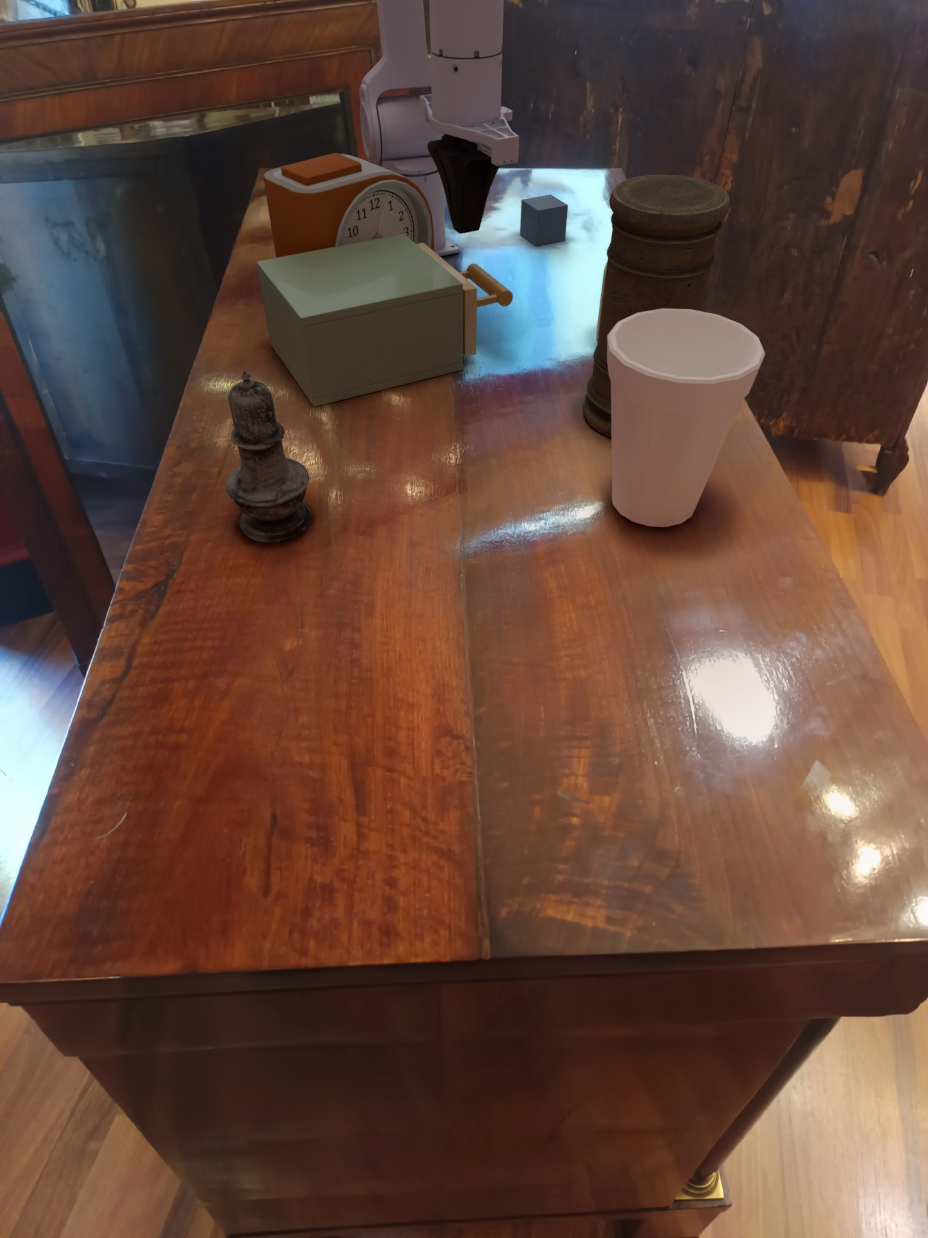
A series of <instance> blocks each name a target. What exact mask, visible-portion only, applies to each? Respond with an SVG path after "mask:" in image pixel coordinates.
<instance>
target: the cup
mask: <svg viewBox="0 0 928 1238" xmlns="http://www.w3.org/2000/svg"><path fill="white" fill-rule="evenodd" d="M765 356H766V352H765V350H764V347H763V345H762V343H761V340H760V338H759V337H758V336H757V334H755V333H753V332H752V331H751V330H750V329H749V328H748V327H746V326H745V325H743V324H742V323H739V322H737V321H734V320H732V319H730V318H727V317H725V316H722V315H720V314H717V313H711V312H706V311H697V310H692V309H657V310H651V311H645V312H639V313H636V314H634V315H632V316H629V317H627V318H625V319H623V320H621V321H619V322H618V323H617V324H616V325H615V326H614V328H613V329H612V330H611V332H610V333H609V334H608V336H607V364H608V373H609V377H610V380H611V436H612V438H611V501H612V506H613V507H614V508H615V509H616V510H617V512H618V513H619V514H620V515H621V516H623V517H625V518H626V519H628V520H629V521H630V522H634V523H636V524H639V525H644V526H648V527H659V528H668V527H671V526H677V525H680V524H683V523H684V522H685V521H687V520H689V519H690V518H692V517H693V514H694V512H695V510H696V508H697V506H698V504H699V502H700V499H701V497H702V495H703V492H704V490H705V488H706V485H707V483H708V481H709V479H710V477H711V475H712V472H713V470H714V467H715V465H716V463H717V461H718V459H719V456H720V454H721V452H722V449H723V447H724V445H725V442H726V440H727V438H728V435H730V431H731V429H732V427H733V425H734V422H735V420H736V418H737V415H738V413H739V411H740V409H741V406H742V404H743V402H744V400H745V398H747V396H748V395H749V394H750V391H751V389H752V387H753V385H754V382H755V380H756V377H757V376H758V373H759V370H760V368H761V366H762V363H763V361H764V358H765Z"/></svg>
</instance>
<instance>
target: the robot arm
mask: <svg viewBox="0 0 928 1238" xmlns="http://www.w3.org/2000/svg"><path fill="white" fill-rule="evenodd" d="M428 1H429V2H428V5H429V42H430V43H429V44H430V45H429V47H430V56H429V55H428V48H427V47H428V46H427V45H428V44H427V35H426V34H427V32H426V21H425V7H424V0H376V8H377V18H378V27H379V37H380V47H381V58H380V59H379V60H378V61H377V63H376V64H375V65H374V66H373V67H372V68H371V69H370V70H369V71H368V72H367V73H366V74H365V75H364V77H363V78H362V80H361V82H360V87H359V89H358V90H359V91H358V92H359V93H358V94H359V103H360V108H359V120H360V121H359V122H360V123H359V124H360V133H361V139H362V141H361V142H362V145H363V151H364V154H365V157H366V159H367V160H368V162H370V163H373V164H375V165H378V166H380V167H383V168H385V169H388V170H390V171H393V172H395V173H398V174H400V175H403V176H405V177H407V178H408V179H410V180H411V181H412V182H414V183H415V184H416V185H417V186H418V187H419V189H420V190H421V191H422V193H423V194H424V196H425V197H426V199H427V202H428V204H429V207H430V210H431V213H432V220H433V228H434V252H435V253H436V254H438V255H439V256H440V257H443V256H449V255H453V254H457V253H459V252H460V247H458V245H456V244H455V243H454V242H452V241H451V240H450V239H449V238H447V237H446V204H447V208H448V214H449V217H450V221H451V226H452V229H453V230H454V231H456V232H457V233H458V234H460V235H462V234H467V233H471V232H472V233H473V232H478V231H480V228H481V226H482V222H483V217H484V213H485V210H486V205H487V200H488V198H489V194H490V191H491V187H492V184H493V182H494V180H495V178H496V176H497V173H498V171H499V169H500V168H501V166H506V165H512V164H518V163H519V154H520V153H519V151H520V136H519V134H516V133H515V132H514V131H513V130H512V128H511V127H510V125H509V123H508V122H510V121H512V120H513V110H512V109H510V108H508V107H506V106H502V82H503V80H502V78H503V48H504V47H503V43H504V42H503V41H504V40H503V38H504V4H505V3H504V2H505V0H428ZM417 89H419V90H420V89H423V90H428V91H430V92H429V93H427V92H426V93H414V94H413V93H412V94H401V95H389V96H388V95H387V96H381V95H382V93H384V92H389V91H390V92H393V91H403V90H404V91H406V90H417ZM445 200H446V202H445Z"/></svg>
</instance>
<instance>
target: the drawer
mask: <svg viewBox="0 0 928 1238" xmlns="http://www.w3.org/2000/svg"><path fill="white" fill-rule="evenodd" d="M417 245H418V246H419V247H420V248H421V249H423V250H424V251H425V252H426V253H427V254H428V255H430V256H431V257H432V258H433V259H434V260H435V261H437V262H438V263H439V264H440V265H441V266H442V267H444V268H445V269H446V270H447V271H448V272H449V273H451V274H452V275H453V276H454V277H455V278H456V279H458V280H459V281H460V282H461V283H462V284H463V292H462V293H463V357H469V356H474V355H477V329H478V328H477V327H478V322H477V321H478V318H477V317H478V315H477V314H478V307H484V306H488V305H493V304H499V305H500V306H501V307H508V306H509V305H511V303H512V302H513V299H514V295H513V294H514V293H513V292H512V291H511V290H509V289H508V288H507V287H506V286H505V285H503V284H502V283H501V282H500V281H498V280H497V279H496V278H495V277H493V276H492V275H491V274H490V273H489V272H488V271H486V270H485V269H484V268H482V267H481V266H480V265H478V264H477V263H471V264H469V265H468V266H467V267H466V270H461V271H458V270H456V269H455V268H454V267H453V266H452V265H451V264H450V263H448V262H447V261H446V260H445V259H444V258H442V256H439V255H438V254H436V253H435V252H434V251H433V250H432V249H430V248H429V247H428V246H427V245H426V244H425V243H419V244H417ZM468 279H469V280H468ZM473 283H474V284H473ZM478 288H479V289H481V290H482V291H483V292H484V293H486V294H487V295H485V296H481V297H478Z"/></svg>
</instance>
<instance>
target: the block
mask: <svg viewBox="0 0 928 1238" xmlns="http://www.w3.org/2000/svg"><path fill="white" fill-rule="evenodd" d="M568 212H569V205H568V204H567V203H566V202H564V201H562V200H561V199H559V198H557V197H556V196H554V195H552V194H546V195H540V196H535V197H529V198H524V199H521V204H520V224H519V225H520V226H519V236H522V238H523V239H525V240H527V241H528V242H529V243H531V244H532V245H534V246H535V247H540V246H545V245H549V244H554V243H559V242H560V243H561V242H565V241H566V236H567V235H566V234H567V225H568V223H567V222H568Z"/></svg>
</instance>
